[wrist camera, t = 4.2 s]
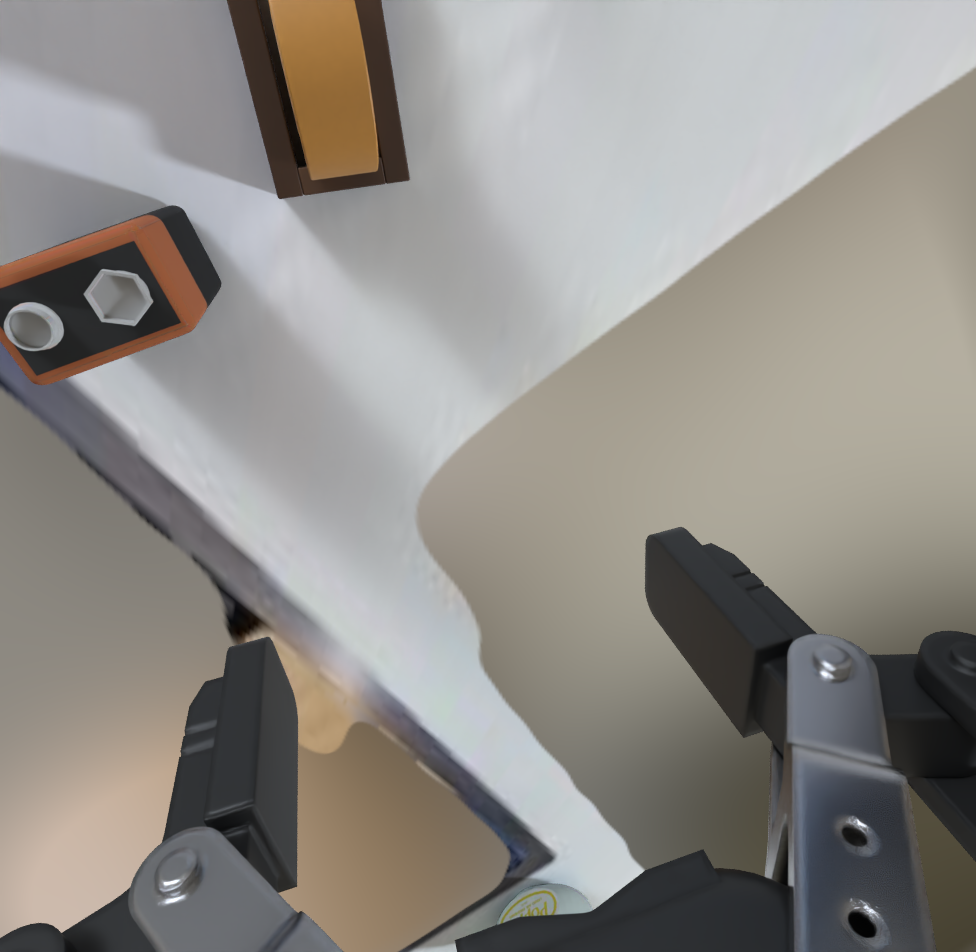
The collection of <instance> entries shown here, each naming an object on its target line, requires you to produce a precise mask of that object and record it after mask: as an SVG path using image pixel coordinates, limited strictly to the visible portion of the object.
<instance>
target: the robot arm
mask: <svg viewBox="0 0 976 952" xmlns="http://www.w3.org/2000/svg"><path fill="white" fill-rule="evenodd" d="M645 592H646V598H647V602H648V605H649V608H650V610H651V612H652V614H653V616H654V617H655V619H656V620H657V621H658V623H659V624H660V626H661V627H662V628H663V629H664V631H665V632H666V634H667V635H668V636H669V638H670V639H671V640H672V642H673V643H674V644H675V646H676V647H677V649H678V650H679V651H680V653H681V654H682V655H683V657H684V658H685V659H686V661H687V662H688V663H689V665H690V666H691V667H692V669H693V670H694V671H695V673H696V674H697V676H698V677H699V678H700V680H701V681H702V682H703V684H704V685H705V686H706V688H707V689H708V690H709V692H710V693H711V694H712V696H713V697H714V699H715V700H716V701H717V703H718V704H719V705H720V707H721V708H722V709H723V711H724V712H725V713H726V715H727V716H728V717H729V719H730V720H731V722H732V723H733V724H734V725H735V727H736V728H737V729H738V731H739V732H740V734H741V735H742V736H743V738H745V737H748V736H751V735H754V734H757V733H760V732H763V731H764V733H765V734H766V735H767V736H768V738H769V739H770V740H771V741H772V744H771V752H770V787H769V829H768V832H769V833H768V850H767V860H766V870H765V877H764V876H761V875H758V874H755V873H751V872H746V871H741V870H735V869H723V868H716V869H714V868H713V866H712V864H711V862H710V861H709V859H708V857H707V855H706V853H705V852H704V850H700V851H697V852H695V853H692V854H689V855H686V856H684V857H681V858H678V859H675V860H673V861H670V862H667V863H664V864H662V865H659V866H656V867H654V868H651V869H648V870H645V871H644V872H643V873H642V874H640V875H639V876H638V877H636V878H635V879H634V880H632V881H631V882H630V883H628V884H627V885H626V886H625V887H623V888H622V889H621V890H619V891H618V892H617V893H615V894H614V895H613V896H612V897H610V898H609V899H608V900H606V901H605V902H604V903H602V904H601V905H600V906H599V907H597V908H596V909H594V910H592V911H590V912H586V913H574V914H557V915H540V916H524V917H517V918H515V919H512V920H509V921H506V922H504V923H501V924H498V925H496V926H493V927H490V928H487V929H485V930H482V931H479V932H476V933H474V934H471V935H468V936H466V937H463V938H460V939H457V940H455V943H456V948H457V952H937V951H936V945H935V939H934V933H933V928H932V922H931V916H930V910H929V904H928V899H927V893H926V887H925V881H924V875H923V869H922V863H921V857H920V852H919V846H918V840H917V834H916V829H915V824H914V817H913V811H912V805H911V799H910V793H909V787H908V784H909V785H910V786H911V788H912V789H913V790H914V791H915V792H916V793H917V794H918V796H919V797H920V798H921V799H922V800H923V801H924V803H925V804H926V805H927V806H928V807H929V808H930V809H931V811H932V812H933V813H934V814H935V815H936V816H937V818H938V819H939V820H940V821H941V822H942V823H943V824H944V826H945V827H946V828H947V829H948V830H949V831H950V833H951V834H952V835H953V836H954V837H955V838H956V840H957V841H958V842H959V843H960V844H961V845H962V846H963V848H964V849H965V850H966V851H967V852H968V853H969V854H970V856H971V857H972V858H973V859H974V860H975V861H976V636H975V635H972V634H968V633H963V632H957V631H941V632H936V633H933V634H930V635H929V636H927V637H926V638H925V639H924V640H923V642H922V643H921V646H920V649H919V652H918V654H904V655H902V654H901V655H868V654H867V653H866V652H865V651H864V650H863V649H861V648H860V647H859V646H857V645H855V644H854V643H852V642H850V641H847V640H845V639H842V638H840V637H837V636H832V635H825V634H817V633H816V632H814V631H813V630H812V629H811V628H810V627H809V626H808V625H807V624H806V623H805V622H804V621H803V620H802V619H801V618H800V617H799V616H798V615H796V613H795V612H794V611H793V610H791V609H790V608H789V607H788V606H787V605H786V604H785V603H784V602H783V601H782V600H781V599H780V598H779V597H778V596H777V595H776V594H775V593H774V592H773V591H772V590H770V589H769V588H768V587H767V586H764V583H763V582H762V581H761V580H760V579H759V578H758V577H757V576H756V575H755V574H754V573H751V572H750V569H749V568H748V567H747V566H746V565H744V564H743V563H742V562H741V561H740V560H739V559H738V558H737V557H736V556H735V555H734V554H732V553H730V552H728V551H726V550H724V549H722V548H720V547H718V546H716V545H714V544H712V543H710V544H706V545H703V546H702V545H701V544H700V543H699V542H698V541H697V540H696V539H695V538H694V537H693V536H692V535H691V534H690V533H689V532H688V531H687V530H686V529H685V528H682V527H678V528H675V529H671V530H667V531H663V532H660V533H656V534H652V535H649V536H648V537H647V539H646V556H645ZM297 785H298V714H297V707H296V702H295V697H294V693H293V690H292V688H291V685H290V683H289V680H288V678H287V675H286V673H285V670H284V668H283V666H282V663H281V661H280V658H279V656H278V653H277V651H276V649H275V646H274V644H273V642H272V640H271V639H270V637H265V638H261V639H258V640H254V641H250V642H246V643H243V644H239V645H235V646H232V647H229V649H228V651H227V656H226V663H225V669H224V676H223V677H221V678H217V679H214V680H210V681H206V682H205V683H204V684H203V686H202V687H201V689H200V691H199V692H198V694H197V696H196V697H195V699H194V700H193V702H192V703H191V705H190V707H189V711H188V716H187V721H186V726H185V736H184V737H183V742H182V747H181V757H179V762H178V767H177V772H176V777H175V782H174V788H173V792H172V798H171V802H170V808H169V813H168V818H167V823H166V828H165V833H164V837H163V840H162V843H161V844H160V845H159V846H157V847H156V848H155V849H154V850H153V851H152V852H151V853H150V854H149V856H148V857H147V858H146V859H145V861H144V862H143V863H142V865H141V866H140V867H139V869H138V871H137V873H136V875H135V877H134V878H133V881H132V884H131V887H130V888H129V889H128V890H127V891H125V892H124V893H123V894H122V895H121V896H119V897H118V898H116V899H115V900H113V901H112V902H110V903H109V904H107V905H105V906H104V907H102V908H101V909H99V910H98V911H96V912H94V913H93V914H91V915H90V916H88V917H87V918H85V919H83V920H82V921H80V922H78V923H77V924H75V925H74V926H72V927H71V928H69V929H67V930H66V931H64V932H63V933H61V932H60V931H59V930H58V929H57V928H55V927H54V926H52V925H49V924H45V923H36V924H30V925H26V926H23V927H20V928H18V929H16V930H14V931H12V932H10V933H8V934H6V935H5V936H3V937H1V938H0V952H343V951H342V950H341V949H340V948H339V947H338V946H337V945H336V944H335V943H334V942H333V941H332V940H331V938H330V937H329V936H328V935H327V934H326V933H325V932H324V931H323V930H322V929H321V928H320V927H319V926H318V925H317V924H316V923H315V922H314V921H313V920H312V919H311V918H310V917H309V916H307V915H306V914H305V913H304V912H302V911H300V912H299V913H297V912H296V911H295V910H294V909H293V908H292V907H291V906H290V905H289V904H288V903H287V902H286V901H285V900H284V899H283V898H282V897H281V896H280V895H279V894H278V893H279V892H282V891H285V890H288V889H291V888H294V887H297V795H298V791H297V789H298V788H297V787H298V786H297Z"/></svg>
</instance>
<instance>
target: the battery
mask: <svg viewBox="0 0 976 952" xmlns="http://www.w3.org/2000/svg"><path fill="white" fill-rule="evenodd" d="M220 287H221V280H220V278H219V276H218V274H217V272H216V270H215V269H214V267H213V265H212V263H211V261H210V259H209V257H208V255H207V253H206V251H205V249H204V248H203V246H202V244H201V242H200V240H199V238H198V236H197V234H196V232H195V230H194V228H193V226H192V225H191V223H190V221H189V219H188V217H187V215H186V213H185V212H184V210H183V209H182V208H180V207H178V206H168V207H165V208H162V209H159V210H156V211H153V212H150V213H147V214H144V215H142V216H139V217H136V218H133V219H130V220H128V221H125V222H122V223H119V224H116V225H113V226H111V227H108V228H105V229H102V230H99V231H96V232H94V233H91V234H88V235H85V236H82V237H79V238H77V239H74V240H71V241H68V242H65V243H62V244H60V245H57V246H54V247H52V248H49V249H46V250H44V251H41V252H38V253H36V254H33V255H30V256H27V257H25V258H22V259H19V260H17V261H14V262H11V263H9V264H6V265H3V266H1V267H0V341H1V343H2V344H3V345H4V347H5V348H6V349H7V351H8V352H9V353H10V355H11V356H12V357H13V359H14V360H15V361H16V363H17V364H18V365H19V367H20V368H21V369H22V371H23V372H24V373H25V375H26V376H27V377H28V378H29V380H30V381H31V382H33V383H35V384H38V385H47V384H51V383H54V382H57V381H60V380H62V379H65V378H68V377H71V376H73V375H76V374H79V373H81V372H84V371H87V370H90V369H92V368H95V367H98V366H100V365H103V364H106V363H108V362H111V361H114V360H117V359H119V358H122V357H125V356H127V355H130V354H133V353H136V352H138V351H141V350H144V349H146V348H149V347H152V346H154V345H157V344H160V343H163V342H165V341H168V340H171V339H173V338H176V337H179V336H181V335H184V334H186V333H189V332H191V331H192V330H193V329H194V328H195V326H196V325H197V323H198V322H199V320H200V319H201V317H202V316H203V314H204V312H205V311H206V309H207V308H208V306H209V305H210V303H211V302H212V300H213V299H214V297H215V296H216V294H217V293H218V291H219V289H220Z"/></svg>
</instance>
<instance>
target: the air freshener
mask: <svg viewBox="0 0 976 952" xmlns="http://www.w3.org/2000/svg"><path fill="white" fill-rule="evenodd" d="M592 910H593V909H592V907H591V905H590V903H589V901H588V899H587V898H586V897H585V896H584V895H583V894H582V893H581V892H579V891H578V890H576V889H574V888H572V887H569V886H566V885H562V884H543V885H537V886H532V887H529V888H526V889H524V890H523V891H521V892H520V893H519V894H518V895H517V897H516V898H514V899H513V900H512V901H511V902H510V903H509V904H508V905H507V906H506V908H505V909H504V910H503V912H502V914H501V915H500V917H499V919H498V921H497V924H496V925H498V924H501V923H504V922H506V921H509V920H512V919H515V918H517V917H524V916H540V915H557V914H574V913H586V912H590V911H592Z"/></svg>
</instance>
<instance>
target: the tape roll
mask: <svg viewBox="0 0 976 952" xmlns="http://www.w3.org/2000/svg"><path fill="white" fill-rule="evenodd" d="M268 2H269V7H270V14H271V18H272V23H273V27H274V32H275V36H276V41H277V45H278V49H279V54H280V58H281V62H282V67H283V71H284V75H285V79H286V84H287V88H288V92H289V96H290V101H291V105H292V109H293V113H294V117H295V121H296V125H297V129H298V133H299V135H300V139H301V143H302V148H303V152H304V156H305V160H306V164H307V168H308V172H309V176H310V179H311V180H319V179H326V178H333V177H340V176H347V175H355V174H362V173H369V172H376V171H377V170H378V164H379V157H378V142H377V132H376V123H375V115H374V108H373V101H372V94H371V87H370V81H369V75H368V69H367V63H366V57H365V51H364V46H363V40H362V35H361V30H360V25H359V20H358V15H357V10H356V5H355V1H354V0H268Z"/></svg>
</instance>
